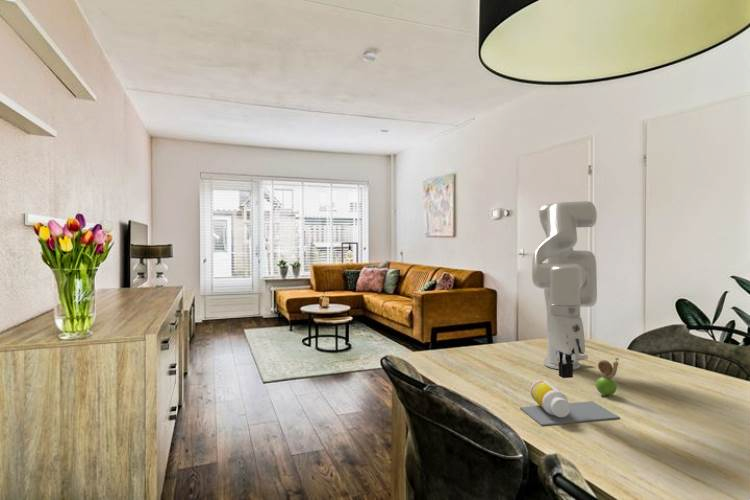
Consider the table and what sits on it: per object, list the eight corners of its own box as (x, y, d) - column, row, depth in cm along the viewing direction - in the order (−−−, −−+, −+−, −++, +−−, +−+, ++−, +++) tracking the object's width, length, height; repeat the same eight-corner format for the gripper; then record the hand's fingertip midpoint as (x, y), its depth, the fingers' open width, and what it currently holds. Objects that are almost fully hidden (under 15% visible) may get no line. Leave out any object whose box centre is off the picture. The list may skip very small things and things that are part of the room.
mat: (592, 402, 120) (592, 401, 120) (619, 418, 109) (619, 417, 109) (520, 408, 117) (520, 407, 117) (541, 425, 106) (541, 424, 106)
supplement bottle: (526, 398, 121) (544, 416, 108) (533, 376, 120) (552, 392, 108) (548, 404, 121) (569, 424, 108) (555, 383, 121) (577, 399, 108)
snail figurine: (612, 400, 121) (612, 359, 121) (592, 393, 127) (591, 354, 127) (624, 397, 124) (623, 356, 124) (603, 390, 130) (603, 351, 129)
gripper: (595, 314, 108) (596, 385, 109) (561, 305, 123) (562, 368, 124) (568, 316, 107) (569, 387, 108) (537, 307, 122) (538, 369, 123)
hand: (565, 376), depth 116 cm, fingers closed
